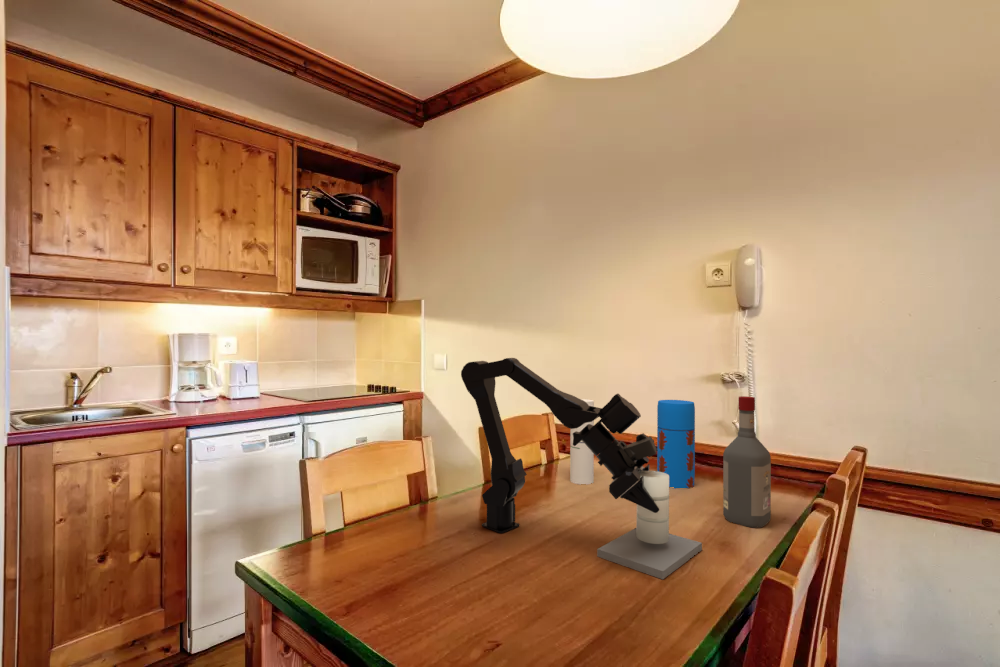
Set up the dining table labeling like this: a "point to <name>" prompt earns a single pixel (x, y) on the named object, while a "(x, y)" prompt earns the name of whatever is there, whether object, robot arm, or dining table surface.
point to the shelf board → (650, 553)
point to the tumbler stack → (648, 522)
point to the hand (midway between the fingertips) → (659, 506)
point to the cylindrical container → (581, 457)
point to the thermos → (676, 441)
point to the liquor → (747, 473)
